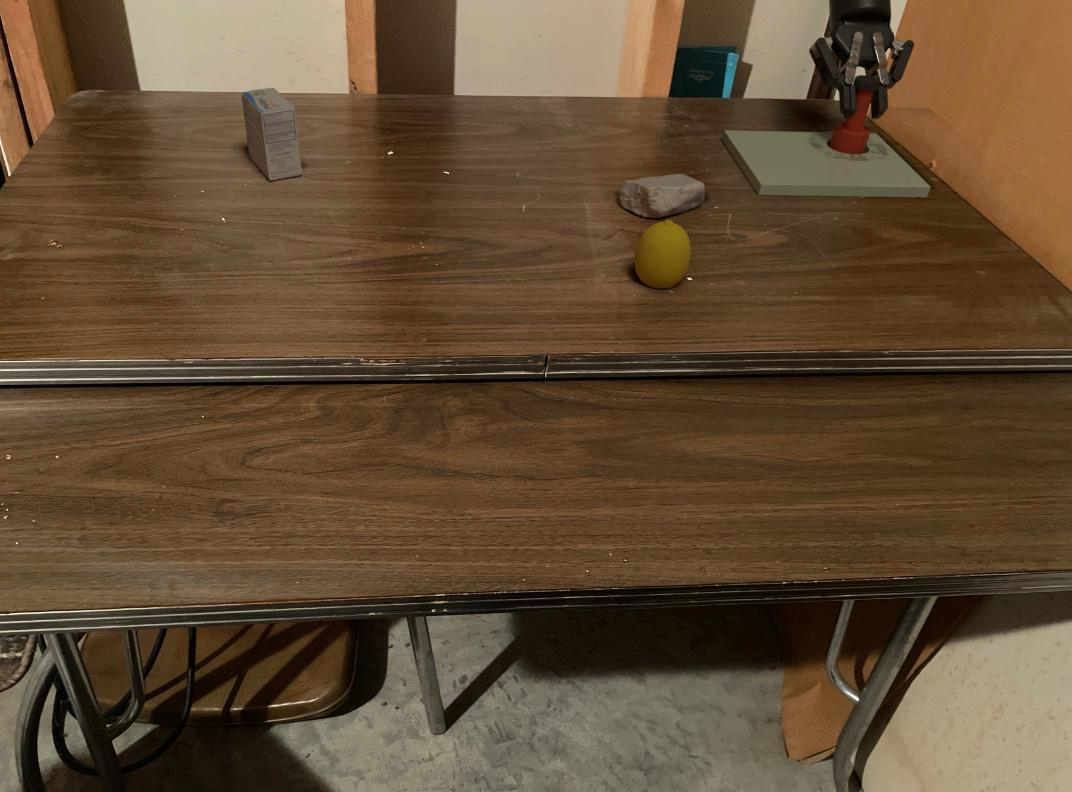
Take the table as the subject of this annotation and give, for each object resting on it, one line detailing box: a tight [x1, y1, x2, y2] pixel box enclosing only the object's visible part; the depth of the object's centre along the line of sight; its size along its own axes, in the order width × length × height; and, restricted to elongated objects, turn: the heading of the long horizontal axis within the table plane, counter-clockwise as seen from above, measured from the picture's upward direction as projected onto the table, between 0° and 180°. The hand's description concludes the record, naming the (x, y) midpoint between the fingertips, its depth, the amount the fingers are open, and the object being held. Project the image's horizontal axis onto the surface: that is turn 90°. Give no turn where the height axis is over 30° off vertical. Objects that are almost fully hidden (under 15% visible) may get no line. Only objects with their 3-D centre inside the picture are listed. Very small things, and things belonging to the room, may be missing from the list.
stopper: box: [829, 74, 881, 154], centre depth 123 cm, size 5×5×10 cm
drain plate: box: [721, 129, 932, 199], centre depth 122 cm, size 22×18×2 cm
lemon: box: [634, 219, 692, 290], centre depth 93 cm, size 6×6×8 cm
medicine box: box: [241, 87, 303, 182], centre depth 113 cm, size 8×4×9 cm, turn 28°
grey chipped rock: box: [619, 173, 706, 219], centre depth 110 cm, size 10×6×6 cm, turn 109°
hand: (864, 115), depth 121 cm, fingers closed on stopper, 3 cm apart
